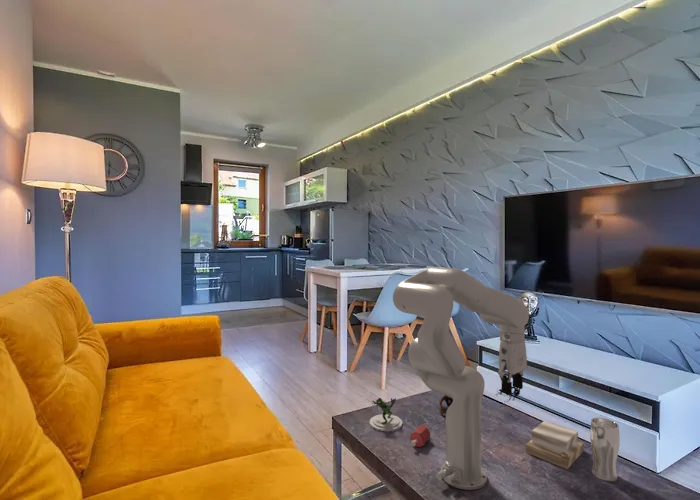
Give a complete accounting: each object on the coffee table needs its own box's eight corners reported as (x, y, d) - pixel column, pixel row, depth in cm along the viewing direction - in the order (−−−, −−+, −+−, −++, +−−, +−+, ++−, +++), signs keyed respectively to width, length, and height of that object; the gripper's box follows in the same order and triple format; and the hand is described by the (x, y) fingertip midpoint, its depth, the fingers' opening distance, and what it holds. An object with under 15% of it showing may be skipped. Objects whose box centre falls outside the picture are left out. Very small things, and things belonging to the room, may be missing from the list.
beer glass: (625, 479, 107) (625, 426, 107) (606, 484, 105) (606, 430, 105) (602, 465, 114) (603, 415, 113) (584, 470, 112) (584, 419, 111)
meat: (421, 452, 121) (417, 436, 122) (408, 451, 124) (404, 436, 125) (436, 435, 131) (432, 421, 132) (423, 435, 134) (419, 421, 134)
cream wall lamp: (567, 470, 112) (567, 446, 112) (525, 453, 121) (525, 431, 121) (583, 452, 122) (583, 430, 121) (544, 437, 131) (544, 417, 130)
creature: (499, 406, 123) (525, 402, 122) (495, 389, 123) (521, 385, 122) (494, 396, 131) (518, 392, 129) (490, 380, 131) (514, 376, 129)
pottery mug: (471, 418, 145) (463, 403, 143) (449, 430, 146) (441, 414, 143) (458, 398, 157) (451, 383, 154) (437, 408, 157) (430, 393, 154)
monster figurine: (363, 420, 144) (363, 393, 144) (390, 413, 150) (390, 387, 149) (380, 435, 133) (380, 406, 133) (409, 427, 139) (408, 398, 139)
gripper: (509, 343, 118) (509, 401, 118) (536, 333, 128) (536, 387, 129) (486, 338, 123) (487, 394, 124) (514, 329, 134) (514, 380, 135)
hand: (512, 389), depth 127 cm, fingers closed on creature, 6 cm apart
